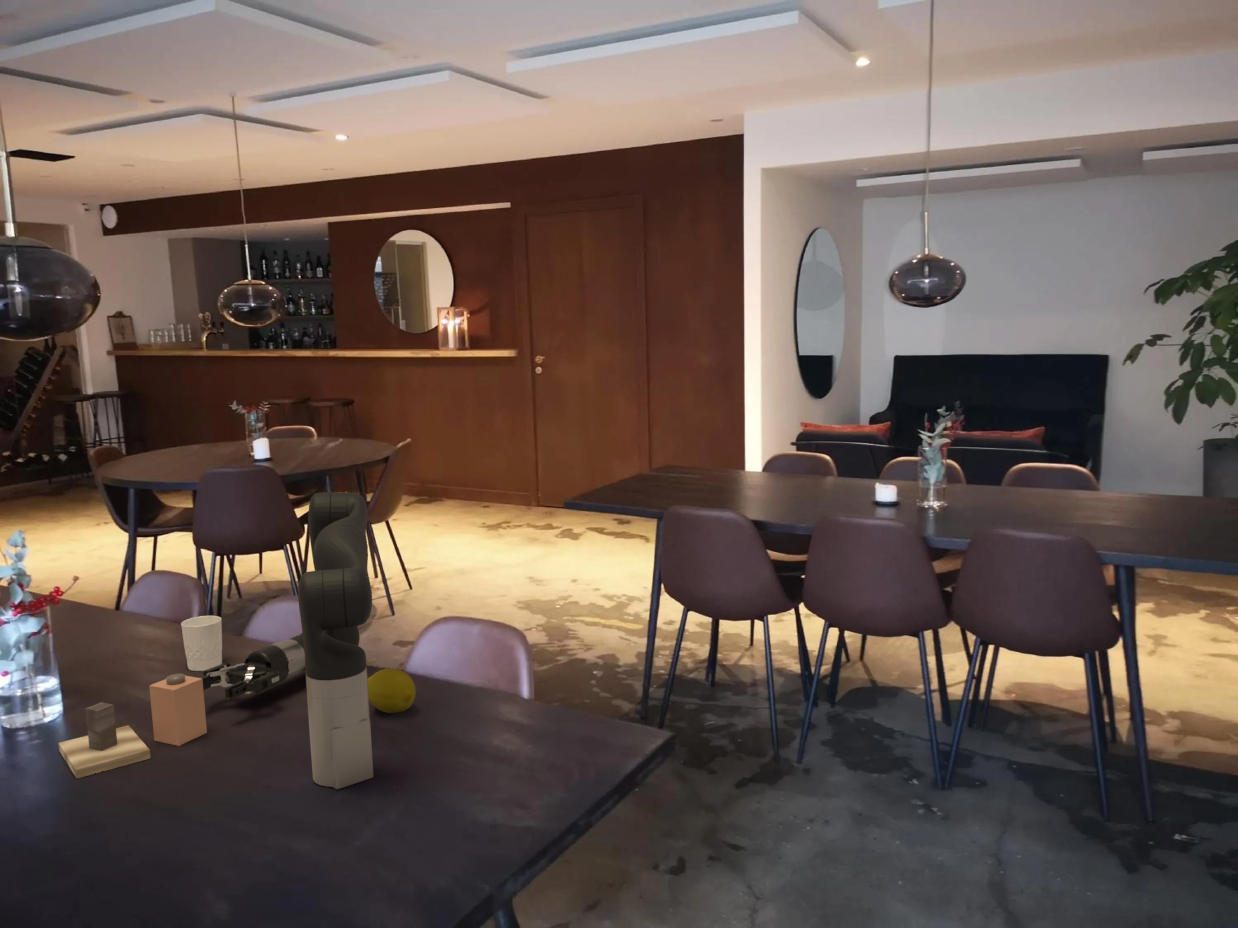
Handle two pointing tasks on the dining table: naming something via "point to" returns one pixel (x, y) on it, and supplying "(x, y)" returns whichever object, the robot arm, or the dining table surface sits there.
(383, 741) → the dining table surface
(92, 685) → the dining table surface
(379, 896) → the dining table surface
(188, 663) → the white cup
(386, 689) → the lemon
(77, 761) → the shaft board
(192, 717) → the square capped bottle
